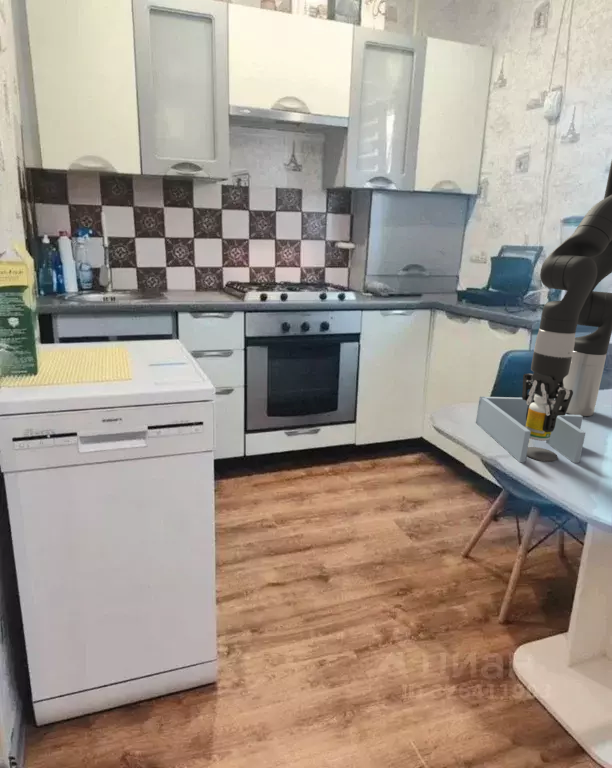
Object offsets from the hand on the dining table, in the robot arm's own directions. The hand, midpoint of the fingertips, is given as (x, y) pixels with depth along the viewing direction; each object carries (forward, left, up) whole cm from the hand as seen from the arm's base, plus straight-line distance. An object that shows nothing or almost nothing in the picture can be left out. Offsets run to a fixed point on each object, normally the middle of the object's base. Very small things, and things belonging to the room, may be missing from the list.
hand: (538, 426), depth 119 cm
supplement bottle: (0, 0, -3) cm, 3 cm away
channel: (-6, +3, -6) cm, 9 cm away
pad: (+2, 0, -6) cm, 6 cm away
